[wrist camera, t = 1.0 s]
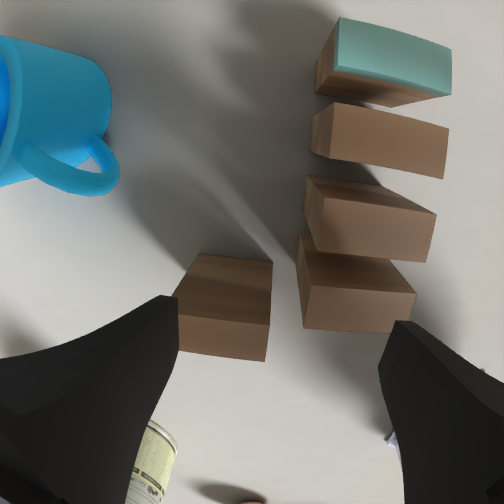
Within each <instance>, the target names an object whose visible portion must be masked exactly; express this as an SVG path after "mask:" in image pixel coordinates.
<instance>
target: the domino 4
mask: <svg viewBox="0 0 504 504" xmlns="http://www.w3.org/2000/svg"><path fill="white" fill-rule="evenodd" d="M303 212H304V215H305V218H306V220H307V223H308V226H309V229H310V232H311V235H312V238H313V241H314V244H315V247H316V250H317V251H321V252H330V253H340V254H349V255H359V256H368V257H377V258H386V259H395V260H405V261H414V262H423V263H426V259H427V255H428V251H429V247H430V243H431V239H432V235H433V230H434V226H435V221H436V216H437V215H436V214H435V213H433V212H431V211H429V210H427V209H425V208H424V207H422V206H420V205H418V204H416V203H414V202H412V201H410V200H408V199H406V198H405V197H403V196H401V195H399V194H397V193H395V192H393V191H391V190H389V189H387V188H385V187H383V186H377V185H371V184H364V183H358V182H351V181H344V180H337V179H330V178H322V177H314V176H307V177H306V186H305V195H304V203H303Z"/></svg>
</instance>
